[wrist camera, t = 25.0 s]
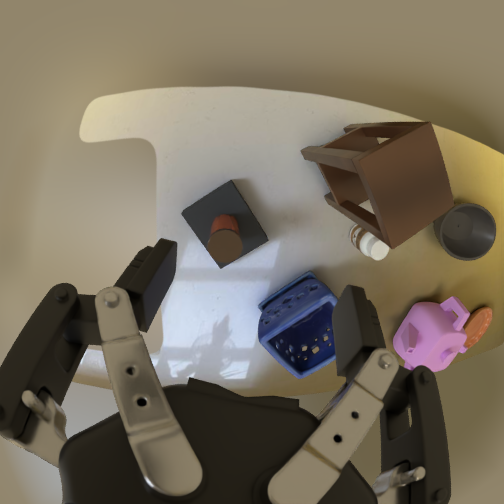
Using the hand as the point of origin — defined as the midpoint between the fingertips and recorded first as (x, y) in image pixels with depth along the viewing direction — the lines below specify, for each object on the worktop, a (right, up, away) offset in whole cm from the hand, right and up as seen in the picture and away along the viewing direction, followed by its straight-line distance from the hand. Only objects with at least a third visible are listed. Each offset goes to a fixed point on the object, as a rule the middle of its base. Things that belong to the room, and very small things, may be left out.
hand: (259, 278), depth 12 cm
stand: (+14, +15, +29) cm, 36 cm away
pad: (-5, +6, +31) cm, 32 cm away
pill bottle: (+19, +4, +34) cm, 39 cm away
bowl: (+44, +7, +35) cm, 57 cm away
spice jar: (-4, +5, +29) cm, 30 cm away
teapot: (+41, -16, +45) cm, 63 cm away
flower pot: (+8, -8, +38) cm, 40 cm away
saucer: (+69, -22, +50) cm, 88 cm away
